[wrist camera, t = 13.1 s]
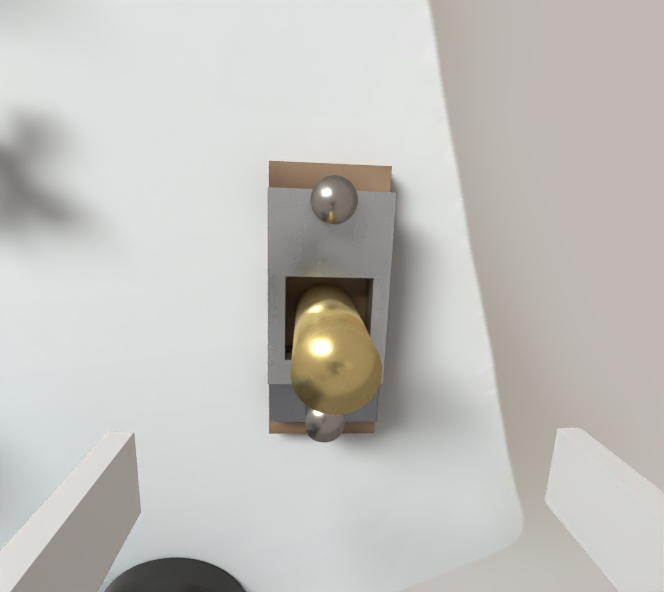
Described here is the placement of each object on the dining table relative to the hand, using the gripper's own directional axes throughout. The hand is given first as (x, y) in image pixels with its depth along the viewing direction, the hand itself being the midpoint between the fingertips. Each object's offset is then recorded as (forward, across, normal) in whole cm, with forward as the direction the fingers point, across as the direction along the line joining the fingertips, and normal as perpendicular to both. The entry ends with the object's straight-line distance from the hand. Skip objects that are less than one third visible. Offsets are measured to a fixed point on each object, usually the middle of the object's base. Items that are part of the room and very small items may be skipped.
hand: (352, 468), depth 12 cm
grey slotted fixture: (+19, 0, 0) cm, 19 cm away
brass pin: (+19, 0, 0) cm, 19 cm away
